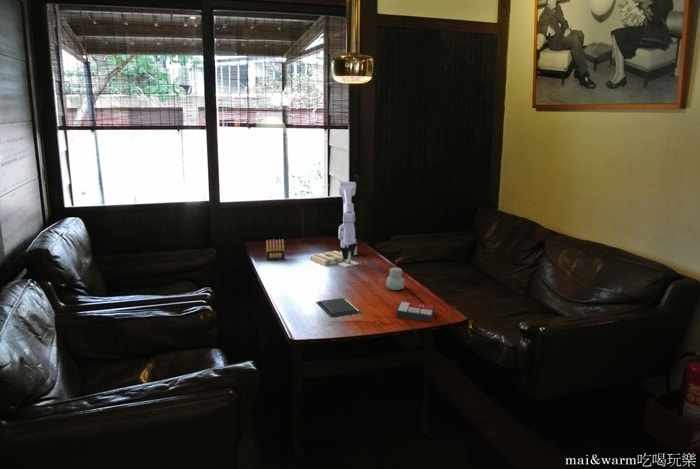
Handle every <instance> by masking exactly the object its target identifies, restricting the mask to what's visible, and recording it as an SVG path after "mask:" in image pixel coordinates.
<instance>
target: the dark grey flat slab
mask: <svg viewBox="0 0 700 469" xmlns="http://www.w3.org/2000/svg"><path fill="white" fill-rule="evenodd" d="M315 303H316V304H317V306H318V307H320V309H322V311H324V312H325V314H326V315H327V316H328V315H329V316H328V317H330V318H339V316H340V317H346V316H345V315H347V316H353V315H352V314H354V315H358V313H360V314H363V312H362V310H361V309H359V308H357V307H356V306H355V305H354V304H352V303H351V302H350V301H349V300H348V299H346V298H343V297H341V298H340V297H339V298H332V299H325V300H318V301H316V302H315Z"/></svg>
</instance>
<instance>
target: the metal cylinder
mask: <svg viewBox="0 0 700 469" xmlns="http://www.w3.org/2000/svg"><path fill="white" fill-rule="evenodd" d="M351 257H352V256H351V251H349V252H348V258H347V259H345V263H346V264H351V260H352V258H351Z"/></svg>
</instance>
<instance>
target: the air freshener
mask: <svg viewBox="0 0 700 469" xmlns="http://www.w3.org/2000/svg"><path fill="white" fill-rule="evenodd" d="M402 271H403V269H402V268H400V267H391V268H390V269H389V276H387V277H386V282H385V287H386V288H387V289H389V290H391V291H400V289H401V290H403V289H404V287H405V278H404V277H402V276H403V274H402Z"/></svg>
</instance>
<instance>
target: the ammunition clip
mask: <svg viewBox="0 0 700 469" xmlns="http://www.w3.org/2000/svg"><path fill="white" fill-rule="evenodd" d="M265 243H266V244H265V253H266V254H265V260H266V261H274V260H279V259H280V260H285V258H286V257H285V256H286V255H285V241H284V239H283V238H282V239H281V238H279V239H276V240H275V238H273V239H269V240H268V239H266V242H265Z"/></svg>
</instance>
